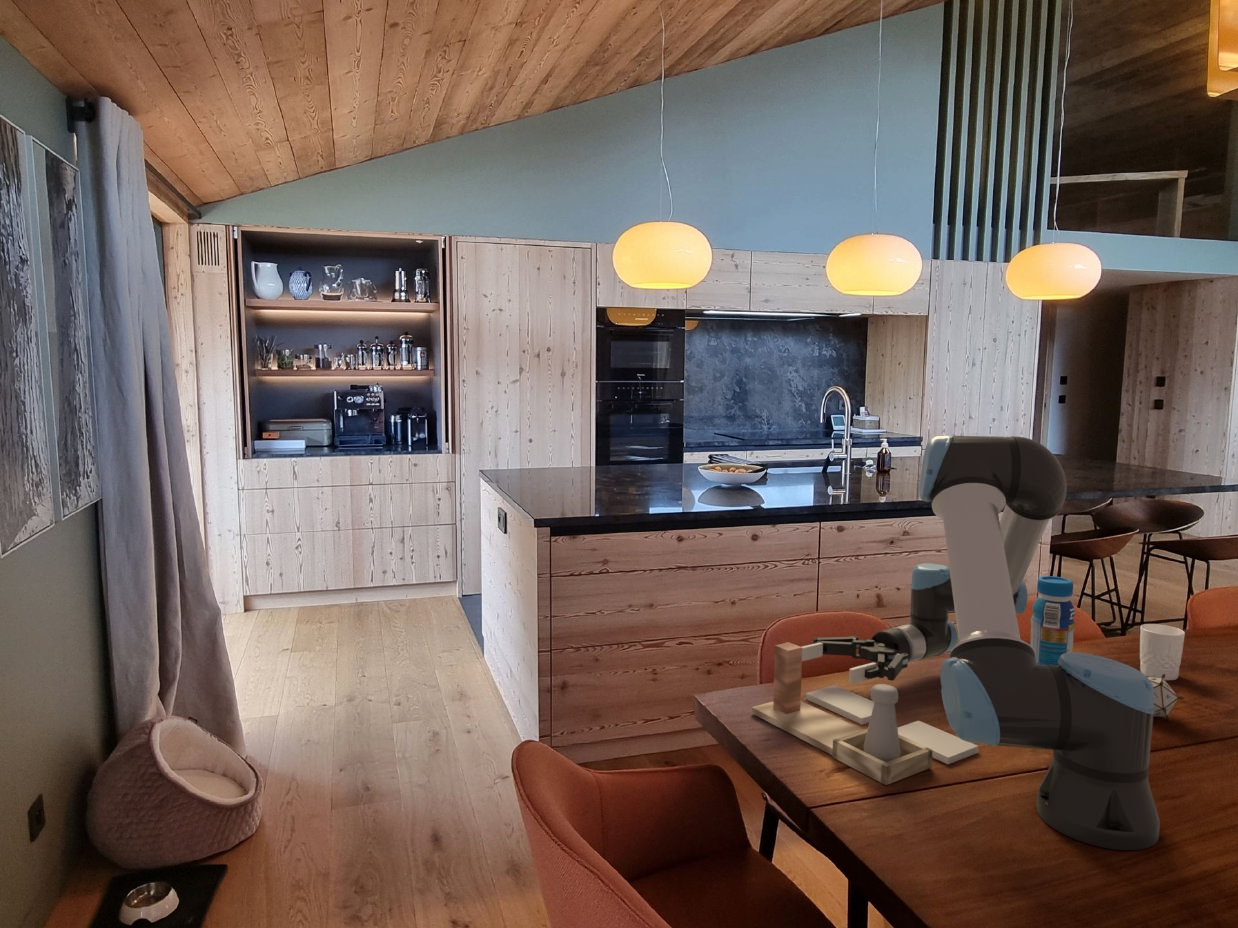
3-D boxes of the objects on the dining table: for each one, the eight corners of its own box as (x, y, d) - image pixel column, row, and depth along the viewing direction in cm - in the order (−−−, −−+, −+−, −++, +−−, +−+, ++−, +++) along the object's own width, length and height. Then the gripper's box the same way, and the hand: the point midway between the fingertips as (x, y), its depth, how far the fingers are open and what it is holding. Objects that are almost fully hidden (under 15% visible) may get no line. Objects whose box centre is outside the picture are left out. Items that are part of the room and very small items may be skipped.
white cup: (1128, 671, 177) (1132, 626, 176) (1151, 666, 180) (1155, 621, 179) (1166, 683, 170) (1169, 637, 169) (1189, 678, 173) (1193, 632, 172)
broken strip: (978, 752, 138) (978, 745, 138) (948, 764, 134) (948, 757, 134) (834, 690, 165) (834, 684, 165) (805, 698, 161) (806, 693, 161)
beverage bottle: (1019, 665, 180) (1024, 576, 178) (1049, 661, 183) (1055, 573, 181) (1049, 678, 172) (1055, 585, 170) (1081, 674, 175) (1087, 582, 173)
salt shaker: (859, 766, 133) (862, 689, 132) (866, 752, 138) (868, 677, 137) (897, 774, 130) (900, 695, 129) (902, 759, 135) (905, 683, 134)
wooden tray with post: (931, 767, 132) (935, 688, 131) (885, 785, 127) (889, 702, 125) (792, 701, 159) (794, 635, 158) (749, 713, 153) (751, 645, 152)
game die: (1159, 740, 152) (1180, 712, 145) (1110, 713, 156) (1129, 685, 149) (1174, 706, 156) (1196, 678, 150) (1127, 681, 161) (1145, 652, 154)
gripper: (949, 683, 158) (874, 706, 147) (849, 646, 179) (777, 664, 168) (951, 645, 157) (875, 665, 146) (850, 613, 178) (778, 629, 167)
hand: (823, 665), depth 157 cm, fingers open, 13 cm apart
